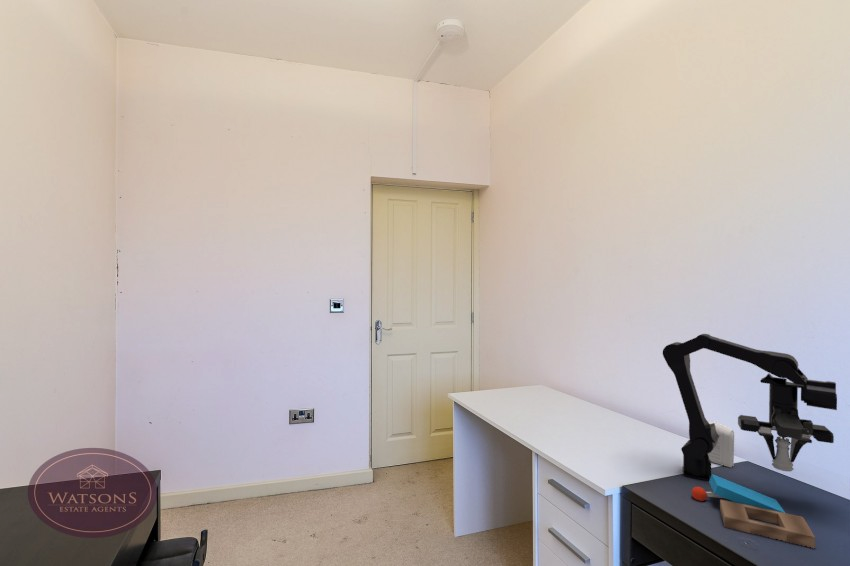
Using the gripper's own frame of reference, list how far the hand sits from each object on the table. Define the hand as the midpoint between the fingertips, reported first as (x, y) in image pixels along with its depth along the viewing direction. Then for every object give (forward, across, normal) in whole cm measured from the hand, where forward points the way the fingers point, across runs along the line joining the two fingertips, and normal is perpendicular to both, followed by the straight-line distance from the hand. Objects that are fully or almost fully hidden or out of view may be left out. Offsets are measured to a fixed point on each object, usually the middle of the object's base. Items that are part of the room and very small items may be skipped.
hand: (782, 460), depth 111 cm
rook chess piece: (+2, 0, 0) cm, 2 cm away
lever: (+11, -12, -11) cm, 19 cm away
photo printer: (+10, -13, +19) cm, 25 cm away
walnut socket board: (+10, -7, -19) cm, 23 cm away
